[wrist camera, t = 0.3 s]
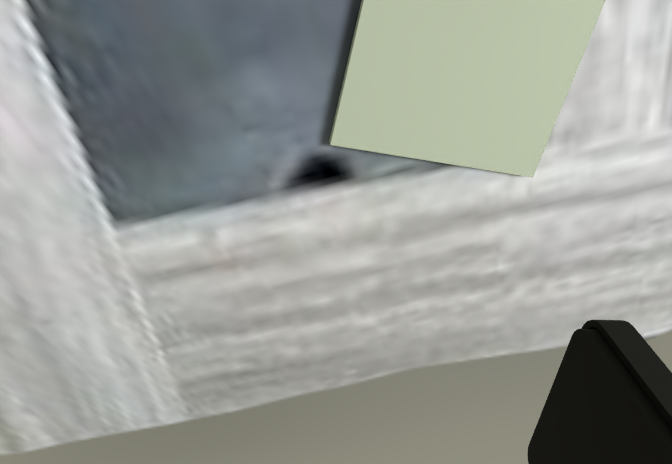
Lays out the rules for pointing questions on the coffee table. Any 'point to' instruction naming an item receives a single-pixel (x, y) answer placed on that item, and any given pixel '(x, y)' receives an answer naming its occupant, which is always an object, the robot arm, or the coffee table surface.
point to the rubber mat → (461, 79)
